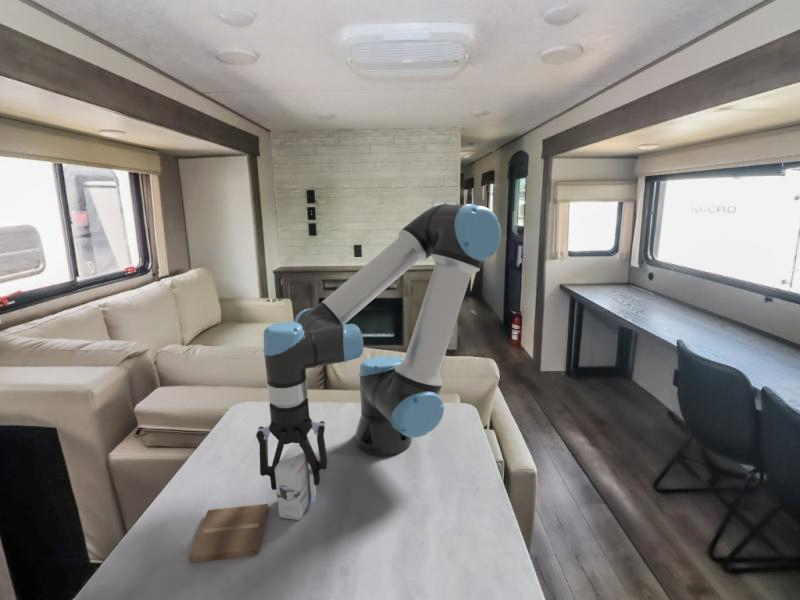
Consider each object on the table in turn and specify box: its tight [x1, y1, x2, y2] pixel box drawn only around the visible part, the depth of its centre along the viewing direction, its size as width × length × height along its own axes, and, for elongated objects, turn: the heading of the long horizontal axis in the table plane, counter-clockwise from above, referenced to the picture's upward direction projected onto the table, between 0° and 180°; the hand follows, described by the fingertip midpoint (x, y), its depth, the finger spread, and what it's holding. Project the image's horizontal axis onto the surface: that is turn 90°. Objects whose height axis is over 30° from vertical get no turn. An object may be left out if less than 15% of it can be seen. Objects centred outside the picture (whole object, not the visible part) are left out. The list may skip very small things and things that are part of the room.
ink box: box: [275, 444, 311, 521], centre depth 90 cm, size 9×5×12 cm, turn 170°
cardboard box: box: [188, 503, 269, 564], centre depth 83 cm, size 12×12×1 cm
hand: (297, 498), depth 91 cm, fingers closed on ink box, 6 cm apart
